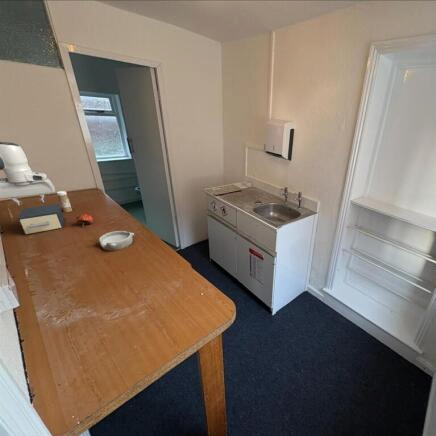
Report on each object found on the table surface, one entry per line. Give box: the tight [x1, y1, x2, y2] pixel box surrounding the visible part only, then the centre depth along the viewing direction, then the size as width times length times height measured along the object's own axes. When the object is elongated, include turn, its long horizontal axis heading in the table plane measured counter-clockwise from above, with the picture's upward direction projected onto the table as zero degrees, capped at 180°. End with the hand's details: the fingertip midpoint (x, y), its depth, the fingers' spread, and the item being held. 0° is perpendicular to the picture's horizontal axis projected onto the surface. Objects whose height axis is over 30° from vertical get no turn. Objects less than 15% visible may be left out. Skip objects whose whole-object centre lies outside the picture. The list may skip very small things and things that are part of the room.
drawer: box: [19, 214, 62, 235], centre depth 127 cm, size 19×14×8 cm
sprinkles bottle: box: [56, 190, 73, 213], centre depth 150 cm, size 5×5×14 cm
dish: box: [98, 230, 135, 252], centre depth 117 cm, size 14×14×5 cm
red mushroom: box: [75, 212, 94, 228], centre depth 134 cm, size 7×7×10 cm
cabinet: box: [17, 203, 65, 235], centre depth 131 cm, size 16×15×10 cm
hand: (31, 203), depth 118 cm, fingers open, 6 cm apart
